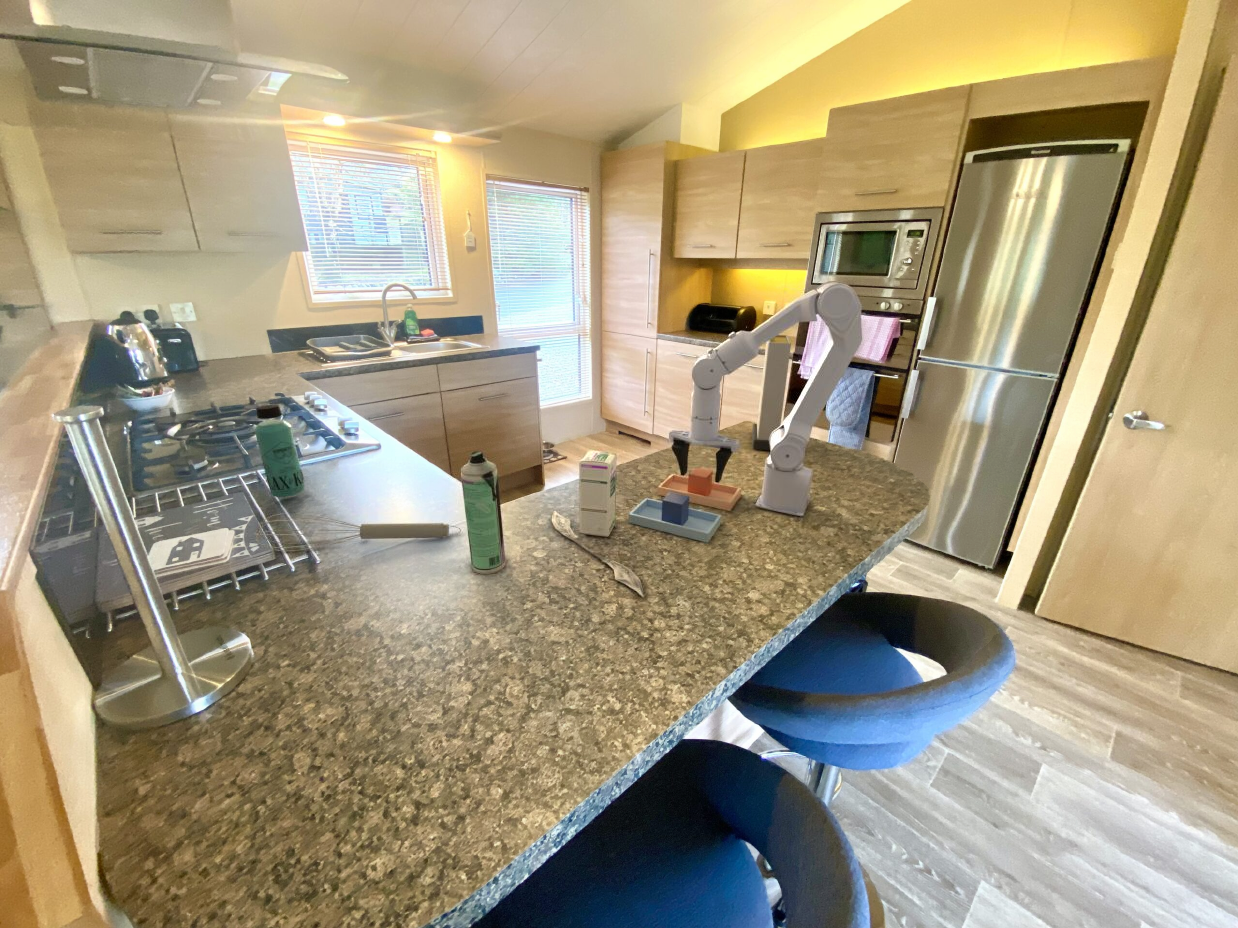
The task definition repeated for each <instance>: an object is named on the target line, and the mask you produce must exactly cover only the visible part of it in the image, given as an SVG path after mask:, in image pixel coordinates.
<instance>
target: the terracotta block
mask: <svg viewBox="0 0 1238 928" xmlns="http://www.w3.org/2000/svg"><path fill="white" fill-rule="evenodd" d="M713 473H714V470H710V469H703V468H699V467H694V468H693V469H692V470H691V471H690V472H689V473H688V475H687V477H688V491H687V492H688V493H693V494H698V495H702V496H708V495H709V494H710V493H711V486H712V482H713Z"/></svg>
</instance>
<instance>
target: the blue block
mask: <svg viewBox="0 0 1238 928" xmlns="http://www.w3.org/2000/svg"><path fill="white" fill-rule="evenodd" d="M689 498H690V496H686V495H681V494H677V493H672V492H670V493H669V494H668V495H667V496H666V497H665V496H664V497H663V499H662V500H661V501H662V518H661V521H664V522H669V523H673V524H677V525H681V526H683V525H684V524H685V522H686V521H687V520H688V513H689V508H690V502H689Z"/></svg>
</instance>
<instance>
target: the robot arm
mask: <svg viewBox="0 0 1238 928" xmlns="http://www.w3.org/2000/svg"><path fill="white" fill-rule="evenodd" d="M862 309H863V305H862V303H861V301H860V299H859V296H858V295H857V292H856V291H855V290H854V289H853V287H852V286H851V285H848V284H846V283H843V282H840V281H838V280H830V281H825V282H823V283H821V284H820V285H819V286H818V287H817V288H816V289H811V290H810V291H807V292H806V293H804V294H802V295H801V296H799V297H797V298H795V299H794V300H793V301H791V302H790V303H789V304H787V305H786V306H784V307H782V309H781V310H779V311H778V312H776V313H775V314H773V315H772V316H770V318H767V320H765V321H764V322H762V323H761V324H760V325H758V326H757V327H756V328H754V329H753V330H751V331H746V330H739V331H737V332H735V331H732V332H730V333H729V334H728V336H727V338H728V339H726V340H724V341H723V342H722V343H720V344H719V345H718V346H716V347H715V348H712V347H711V348H709V349H707V351H706V352H707V354H704V355H702V356H700V357H699V358H697V360H696V361H695V363H694V365H693V367H692V370H691V378H692V381H693V383H692V392H691V398H690V399H691V401H690V402H691V403H690V418H689V419H690V420H689V430H675V429H672V430H670V431H669V432H668V442H672V444H671V451H672V452H673V454H674V456H675V459H676V460H677V464H678V467H679V473H680V476H685V475H686V474H687V473H688V468H689V465H688V464H689V452H690V446H691V445H693V446H697V447H698V446H699V447H701V446H703V447H709V448H715V449H718V450H717V451H716V452H715V465H716V466H715V476H714V483H719V484H720V482H721V481H722V478H723V474H724V470H725V469H726V466H727V464H728V462H729V459H731V456H732V455H733V453H737V452H738V451H739V448H740V440H738V439H734V438H730V437H727V436H723V435H720V434H719V423H720V409H721V392H720V391H721V382H722V381H723V376H729V375H731V374H732V373H734V372H735V371H738V370H739V369H740V368H742V367H743V366H745V365H746V364H747V363H749V362H750V361H752V360H754V359H756V357H758V355H759V352H760V347H761V346H763V345H764V344H766V342H767V341H769V340H771V339H772V338H774V337H775V336H777V335H781V334H783V333H784V332H785V331H787V330H788V329H790V328H792V327H793V326H795V325H797V324H798V323H806V322H807V323H808V322H810V323H811V322H818V317H817V315H818V316H819V318H821V319H822V321H823V322H824V326H825V328H826V330H827V333H828V336H829V338H830V339H829V341H828V344H827V346H826V348H825V349H824V351H823V353H822V355H821V357H820V358H819V360H818V361H817V364H816V365H815V367H814V369H813V370H812V373H811V375H810V377H809V379H808V380H807V382H806V383H805V386H804V388H803V389H802V391H801V393H800V395H799V397H798V399H797V401H796V402H795V404H794V406H793V408H792V410H791V411H790V413H789V414H788V415H787V416H786V417H785V418H784V419H783V421H782V422H781V425H780V427H778V428H777V429H775V430H774V431H773V432H772V434H771V435H770V438H769V444H770V448H771V451H770V452H769V453H770V454H769V456H768V457H766V458H765V464H764V471H763V479H762V488H761V494H760V496H759V497H758V499H757V501H756V503H755V505H754V506H755V507H756V508H760V509H764V510H769V511H774V512H778V513H783V514H786V515H787V514H788V515H792V516H797V517H803V516H804V515H805V512H806V510H807V508H808V505H810V501H811V490H812V484H813V476H814V469H813V468H810V467H806V466H804V463H803V462H804V460H805V455H806V448H807V445H808V443H810V438H811V435H812V430H813V428H814V426H815V424H816V422H817V420H819V417H820V415H821V414H822V412H823V411H824V409H825V407H826V406H827V403H828V402H829V400H830V398H831V397H832V394H833V393H834V391H835V390H836V388H837V386H838V384H839V382H840V380H841V379H842V377H843V376H844V374H845V372H846V370H847V368H848V367H849V365H850V364H851V362H852V360H853V358H854V356H855V355H856V353H857V352H858V349H859V348H860V346H861V344H862V341H863V330H862V329H863V328H862V326H863V325H862Z"/></svg>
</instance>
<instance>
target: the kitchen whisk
mask: <svg viewBox="0 0 1238 928" xmlns="http://www.w3.org/2000/svg"><path fill="white" fill-rule="evenodd" d="M283 515H284V513H278V514H273V515H270V516H268V517H266V518H265V519H263V521H261V522H260V523H259V525H258V526H257V527H256V528H257V532H254V533H253V535H256V537H255V540H256V542H257V543H258V544H259V545H261V546H263V547H265V548H267V549H269V550H272V551H279V552H299V551H307V550H314V549H319V548H322V547H328V546H332V545H335V544H339V543H340V544H341V543H343V542H347V541H350V540H353V539H356V538H357V539H358V538H360V539H361V540H385V539H387V540H388V539H389V540H390V539H391V540H393V539H443V538H446V537H447V538H448V537H449V536H454V535H457V534H460V533H461V532H462V531H461V528H460V527H458V526H455V525H449V523H444V522H424V523H423V522H417V523H416V522H415V523H411V522H409V523H362V524H360V525H357V524H353V523H350V522H346V521H342V520H338V519H334V518H330V517H326V516H325V517H324V516H319V515H313V514H307V513H306V514H304V513H297V515H300V516H310V518H309V517H302V519H306V520H298V522H299V523H300V522H303V523H310V521H307V520H317V521H311V523H313V524H322V525H323V524H324V525H330V526H338V527H343V528H349V529H319V531H326V532H318V533H317V532H315V533H313V532H312V535H329V534H330V535H331V534H332V535H333V534H334V535H335V531H336V532H338V534H354V533H355V535H349V536H344V537H339V538H333V539H327V540H320V541H308V542H307V544H305V542H283V544H286V545H293V548H301V547H309V546H315V545H320V546H316V547H310V548H302V549H295V550H294V549H293V550H289V549H290V548H292V546H270V545H266V544H264V543H263V541H261V538H263V539H264V540H266V541H268V542H271V543H272V542H273V543H277V544H281V542H279V541H275V540H271V539H268V538H266V537H264V536H301V535H303V536H304V535H305V536H306V535H307V533H284V534H283V533H281V534H280V533H279V534H278V533H277V534H276V533H275V534H274V533H273V534H272V533H270V534H269V533H268V532H271V530H263V531H261V530H262V528H263V527H265V526H266V525H268V524H270V523H275V522H296V520H295V519H293V520H292V519H291V520H290V517H282V519H281V518H277V519H274V520H269V521H266V520H267V519H270V518H273V517H276V516H283ZM313 517H314V518H313ZM316 517H317V518H316ZM320 518H321V519H320ZM318 521H322V522H318ZM323 521H324V522H323ZM327 522H329V523H327ZM450 527H452V528H457V529H459V531H458V532H456V533H451V534H450ZM353 529H355V530H353ZM356 529H357V530H356ZM287 531H288V532H290V531H291V532H292V531H293V532H295V531H301V529H278V530H276V529H275V530H273V532H287ZM327 531H328V532H327ZM329 531H333V532H329ZM358 532H359V534H356V533H358ZM263 533H265V534H263ZM267 533H268V534H267ZM260 536H261V538H260ZM336 541H337V542H336ZM332 542H333V543H332ZM327 543H329V544H327ZM303 544H304V545H303ZM321 544H324V545H321ZM282 549H288V550H282Z"/></svg>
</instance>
